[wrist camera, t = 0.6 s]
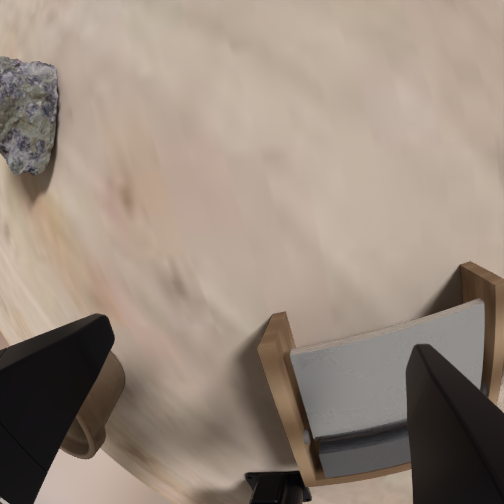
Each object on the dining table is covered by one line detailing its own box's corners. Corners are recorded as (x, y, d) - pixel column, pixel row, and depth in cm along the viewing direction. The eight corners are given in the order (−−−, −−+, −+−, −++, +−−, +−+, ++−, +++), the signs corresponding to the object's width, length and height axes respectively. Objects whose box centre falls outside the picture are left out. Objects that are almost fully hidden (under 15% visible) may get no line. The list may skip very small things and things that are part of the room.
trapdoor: (466, 417, 17) (476, 438, 14) (323, 454, 20) (321, 478, 17) (472, 293, 15) (491, 307, 13) (292, 342, 19) (287, 364, 16)
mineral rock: (57, 177, 25) (-22, 179, 16) (13, 166, 27) (-50, 168, 18) (87, 59, 22) (17, 32, 13) (36, 69, 24) (-23, 54, 15)
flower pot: (159, 360, 26) (95, 422, 16) (137, 423, 29) (90, 476, 19) (74, 298, 27) (2, 331, 18) (66, 368, 30) (13, 405, 21)
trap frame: (469, 404, 20) (487, 441, 14) (311, 444, 24) (305, 487, 19) (470, 261, 18) (506, 280, 13) (272, 314, 22) (256, 349, 17)
